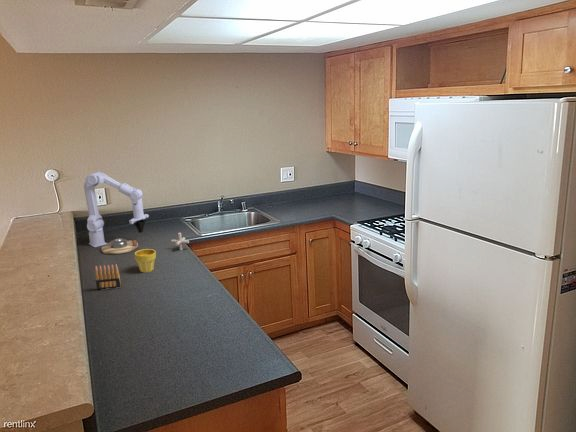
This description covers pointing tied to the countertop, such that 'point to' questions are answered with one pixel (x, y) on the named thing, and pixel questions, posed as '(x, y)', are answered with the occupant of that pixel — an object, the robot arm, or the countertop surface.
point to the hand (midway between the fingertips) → (140, 232)
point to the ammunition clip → (107, 277)
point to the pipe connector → (180, 241)
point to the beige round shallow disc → (130, 247)
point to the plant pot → (145, 259)
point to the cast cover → (118, 243)
